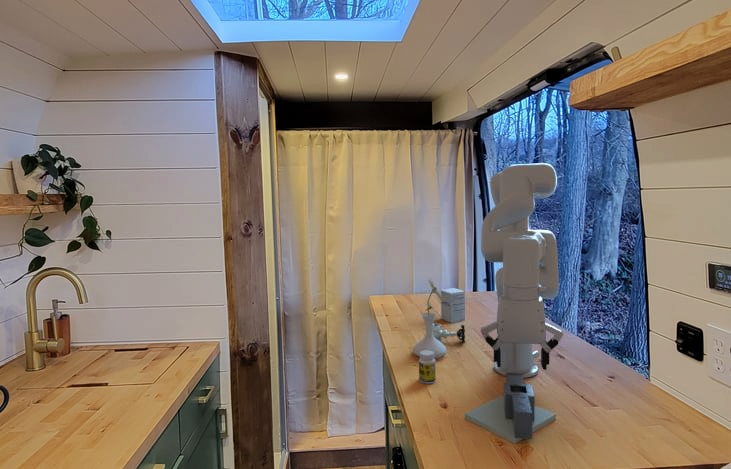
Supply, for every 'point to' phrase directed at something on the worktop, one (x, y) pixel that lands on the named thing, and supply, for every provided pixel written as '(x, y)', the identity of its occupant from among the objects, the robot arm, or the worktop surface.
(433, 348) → the flower in vase
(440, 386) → the worktop surface
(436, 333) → the valve
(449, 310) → the supplement box
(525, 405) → the link
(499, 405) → the board
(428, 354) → the supplement bottle
